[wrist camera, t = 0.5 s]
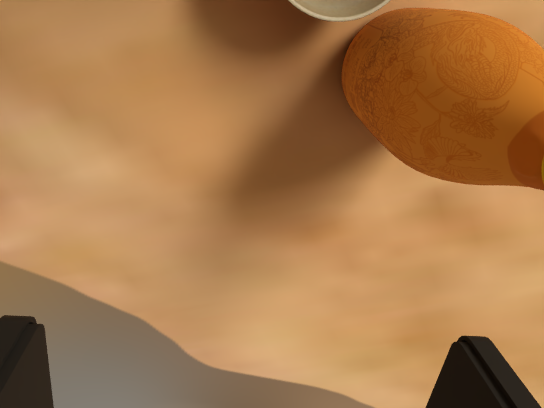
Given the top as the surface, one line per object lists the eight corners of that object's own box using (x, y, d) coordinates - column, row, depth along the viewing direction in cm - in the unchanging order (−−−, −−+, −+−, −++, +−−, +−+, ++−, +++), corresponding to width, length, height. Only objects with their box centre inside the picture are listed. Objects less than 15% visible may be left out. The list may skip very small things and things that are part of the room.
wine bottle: (437, 126, 39) (888, 425, 12) (330, 125, 38) (567, 447, 11) (462, 7, 35) (1239, 71, 8) (342, 3, 34) (768, 59, 7)
